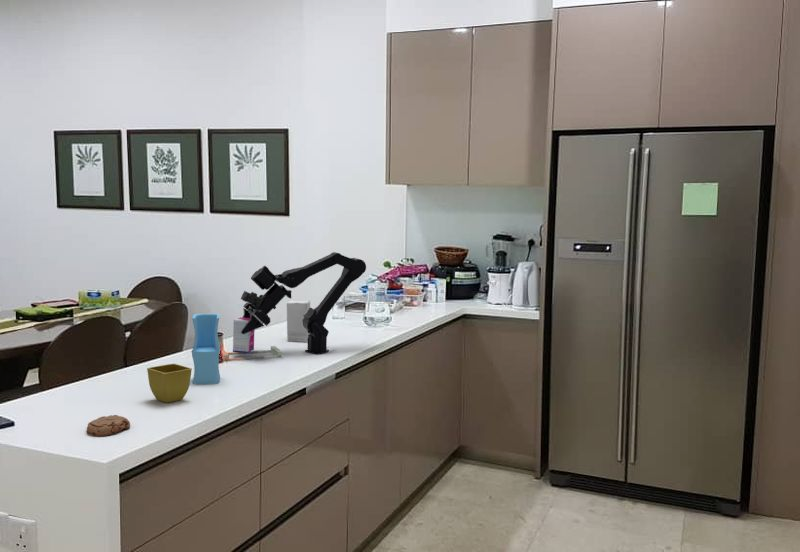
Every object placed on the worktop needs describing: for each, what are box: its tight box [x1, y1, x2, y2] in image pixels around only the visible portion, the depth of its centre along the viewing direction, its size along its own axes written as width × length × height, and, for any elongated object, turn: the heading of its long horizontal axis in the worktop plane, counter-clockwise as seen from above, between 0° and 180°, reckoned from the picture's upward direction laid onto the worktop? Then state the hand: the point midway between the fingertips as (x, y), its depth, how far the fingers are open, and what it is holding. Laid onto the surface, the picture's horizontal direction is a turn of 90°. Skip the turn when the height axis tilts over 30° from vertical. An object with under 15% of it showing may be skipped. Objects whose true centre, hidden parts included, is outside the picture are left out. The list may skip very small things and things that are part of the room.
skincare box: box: [286, 300, 311, 343], centre depth 286 cm, size 8×7×16 cm
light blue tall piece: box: [191, 313, 221, 385], centre depth 223 cm, size 8×8×20 cm
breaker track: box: [221, 345, 283, 362], centre depth 258 cm, size 20×10×2 cm, turn 114°
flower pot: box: [146, 363, 192, 404], centre depth 202 cm, size 9×9×9 cm
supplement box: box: [232, 316, 255, 353], centre depth 256 cm, size 6×6×12 cm
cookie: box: [86, 414, 131, 437], centre depth 176 cm, size 10×11×3 cm
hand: (239, 331), depth 256 cm, fingers closed on supplement box, 8 cm apart
